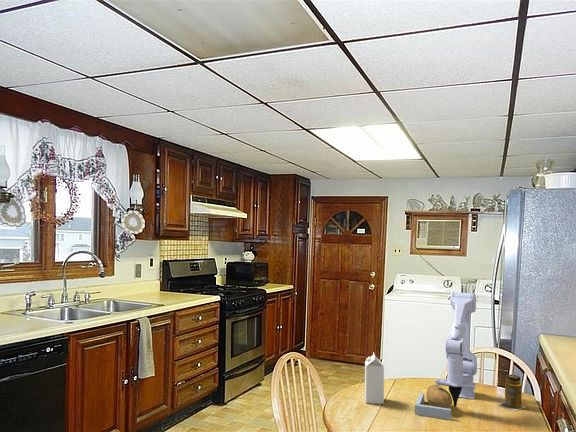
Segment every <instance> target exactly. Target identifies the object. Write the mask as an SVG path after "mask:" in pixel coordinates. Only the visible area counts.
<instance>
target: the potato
mask: <svg viewBox="0 0 576 432" xmlns="http://www.w3.org/2000/svg"><path fill="white" fill-rule="evenodd" d="M425 395H426V400H427V404H428V405H429V406H434V407H441V408H448V409H451V406H452V405H453V399H452V396H451V394H450V392H449V390H448V391H447V390H446V389H445V388H444V387H443V386H441V385H438V386H437V385H436V384H430V385H429V386H428V387H427V389H426V393H425Z"/></svg>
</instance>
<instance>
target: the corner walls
mask: <svg viewBox="0 0 576 432" xmlns="http://www.w3.org/2000/svg"><path fill="white" fill-rule="evenodd" d="M424 403H425V393H424V392H421V391H420V392H419V394H418V397H417V399H416V402H415V404H414V415H415V416H422V417H423V416H424V417H429V418H436V419H441V420H442V419H443V420H448V421H451V420H452V408H449V409H448V408H441V407H434V406H431V405H426V404H424Z"/></svg>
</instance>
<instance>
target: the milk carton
mask: <svg viewBox="0 0 576 432" xmlns="http://www.w3.org/2000/svg"><path fill="white" fill-rule="evenodd" d="M372 353H373V354H372V355H371V356H368V357H366V359H365V361H364V400H365V404H373V405H374V404H377V405H379V404H381V405H384V404H385V401H384V398H385V393H384V392H385V387H384V386H385V382H384V377H385V375H384V374H385V367H384V364H383V362H382V361H381V360H380V359H379V358H378V356H376V355H375V352H372Z"/></svg>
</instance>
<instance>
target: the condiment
mask: <svg viewBox="0 0 576 432" xmlns="http://www.w3.org/2000/svg"><path fill="white" fill-rule="evenodd" d="M522 399H523V398H522V382H521V376H519V375H516V374H506V375H505V382H504V403H500V404H497V406H499V407H500V408H503V409H507V410H510V411H512V412H517V411H519V410H522V409H526V406H524V405H523V404H522V403H523V402H522Z"/></svg>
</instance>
